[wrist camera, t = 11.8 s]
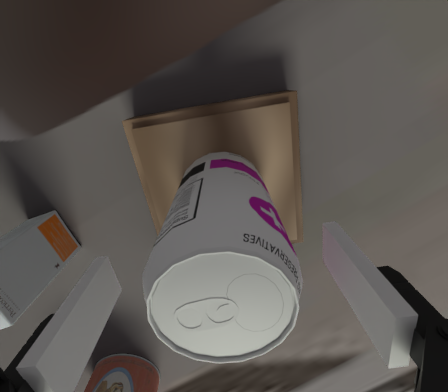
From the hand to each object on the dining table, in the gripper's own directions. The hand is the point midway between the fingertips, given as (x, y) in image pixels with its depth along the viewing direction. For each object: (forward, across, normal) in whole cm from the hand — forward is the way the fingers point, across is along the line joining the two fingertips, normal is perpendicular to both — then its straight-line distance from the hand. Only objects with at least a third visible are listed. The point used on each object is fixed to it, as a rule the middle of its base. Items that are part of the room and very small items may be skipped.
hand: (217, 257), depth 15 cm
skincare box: (+15, -21, -4) cm, 27 cm away
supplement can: (+11, 0, 0) cm, 11 cm away
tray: (+15, +1, 0) cm, 15 cm away
